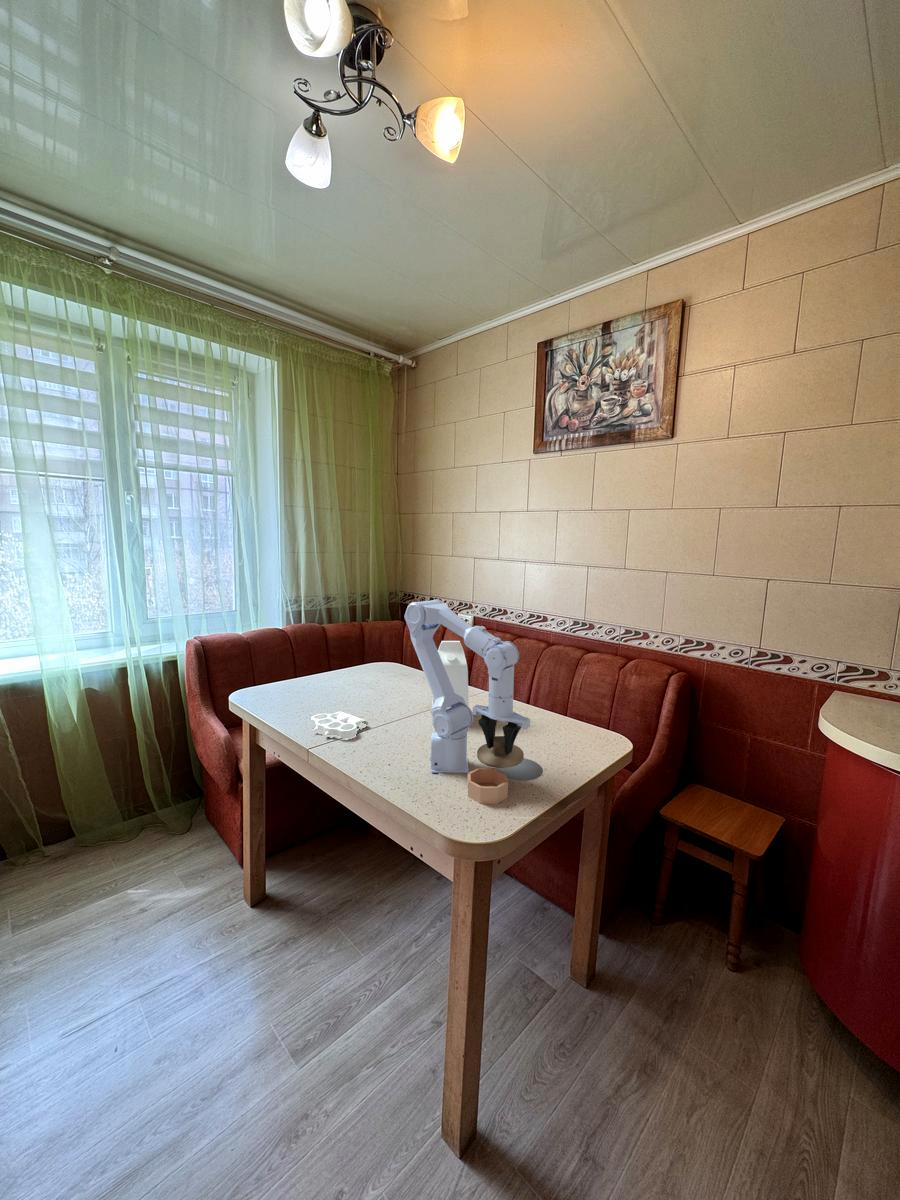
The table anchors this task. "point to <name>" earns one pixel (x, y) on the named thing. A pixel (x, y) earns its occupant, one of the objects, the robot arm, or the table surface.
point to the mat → (523, 771)
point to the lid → (499, 754)
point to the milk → (455, 668)
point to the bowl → (487, 785)
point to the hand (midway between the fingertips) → (499, 749)
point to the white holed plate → (337, 724)
